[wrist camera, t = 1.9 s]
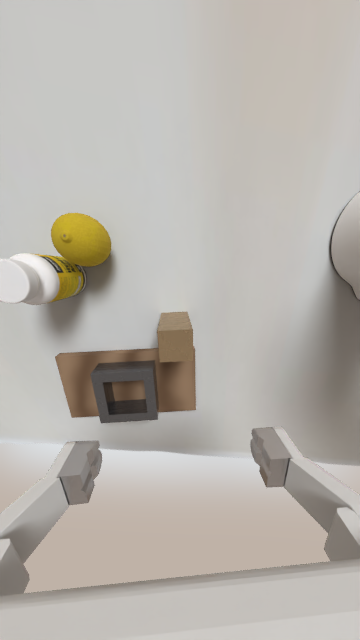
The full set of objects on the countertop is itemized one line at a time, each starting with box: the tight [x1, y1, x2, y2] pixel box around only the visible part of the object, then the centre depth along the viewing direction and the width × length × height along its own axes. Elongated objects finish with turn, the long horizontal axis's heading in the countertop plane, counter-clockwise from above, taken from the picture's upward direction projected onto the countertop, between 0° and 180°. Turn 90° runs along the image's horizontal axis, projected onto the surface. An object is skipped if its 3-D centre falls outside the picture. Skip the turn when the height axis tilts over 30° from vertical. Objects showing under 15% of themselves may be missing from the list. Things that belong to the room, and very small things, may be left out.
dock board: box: [55, 346, 196, 418], centre depth 30 cm, size 22×12×1 cm, turn 92°
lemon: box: [51, 213, 111, 267], centre depth 20 cm, size 6×6×8 cm
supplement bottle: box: [0, 253, 86, 305], centre depth 20 cm, size 5×5×10 cm
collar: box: [90, 360, 159, 423], centre depth 28 cm, size 9×9×3 cm
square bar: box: [157, 312, 193, 362], centre depth 24 cm, size 4×4×8 cm
